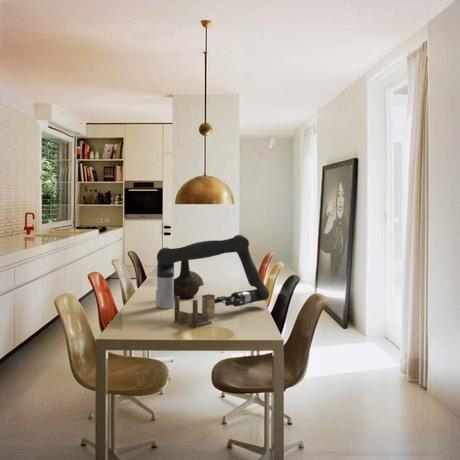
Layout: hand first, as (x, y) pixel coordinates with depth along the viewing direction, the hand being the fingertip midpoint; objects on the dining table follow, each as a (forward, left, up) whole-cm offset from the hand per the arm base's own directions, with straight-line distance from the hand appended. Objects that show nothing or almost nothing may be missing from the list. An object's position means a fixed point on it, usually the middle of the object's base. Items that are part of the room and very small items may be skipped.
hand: (219, 302), depth 281 cm
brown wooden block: (0, -8, -7) cm, 11 cm away
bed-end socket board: (+2, -21, -7) cm, 22 cm away
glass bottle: (-51, +22, -7) cm, 56 cm away
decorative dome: (-81, +53, -7) cm, 98 cm away
